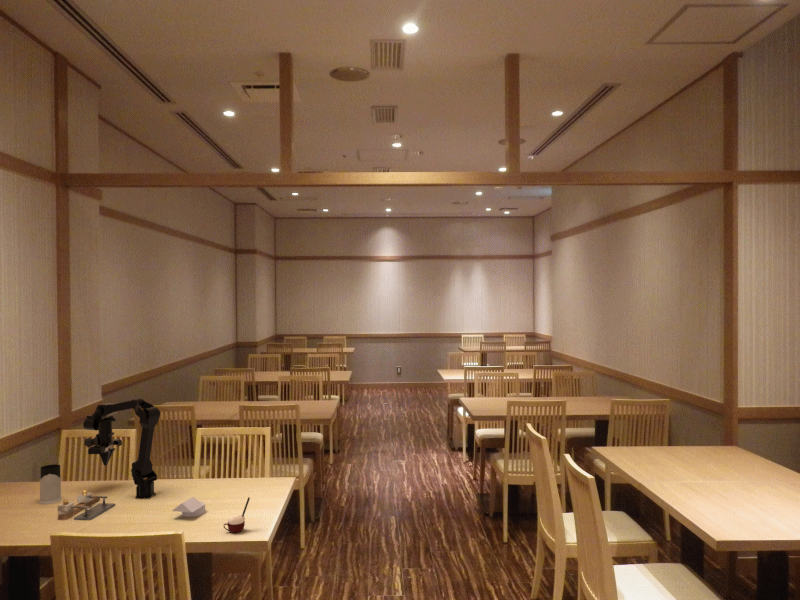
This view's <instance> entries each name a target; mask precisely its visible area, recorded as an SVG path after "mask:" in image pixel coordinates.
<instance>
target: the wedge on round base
mask: <svg viewBox="0 0 800 600" xmlns="http://www.w3.org/2000/svg"><path fill="white" fill-rule="evenodd" d="M171 512H181V515H182V516H183V517H185V516H186V517H187V518H192V517H193V516H195V517H199V516H202V515H204V514H205V513H206V503H205V502H204V501H201V500H198V499H197V498H196V497H195V496H192V497H190V498H188V499H187V500H185V501H183V502H181V503H180V504H179V505H178V506H176V507H175V508H174V509H172V510H171ZM198 515H199V516H198ZM186 517H185V518H186ZM193 518H194V517H193Z"/></svg>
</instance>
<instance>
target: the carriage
mask: <svg viewBox="0 0 800 600" xmlns="http://www.w3.org/2000/svg"><path fill="white" fill-rule="evenodd" d="M81 491H82V493H80V494H77V495H76V503H77V504H79V503H88V502H89V501H91V500H92V498H100V499H102V503H103V505H105V503H106V499H108V496H107V495H105V496H104V495H102V496H101V495H93V492H88V490H87V489H83V490H81Z"/></svg>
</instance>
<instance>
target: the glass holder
mask: <svg viewBox="0 0 800 600" xmlns="http://www.w3.org/2000/svg"><path fill="white" fill-rule="evenodd" d="M61 478H62V476H61V465H60V464H47V465H43V466H41V467H40V478H39V484H40V485H39V501H38V504H39V505H53V504H57V503H60V502H62V501H63V498H62V489H61V488H62V485H61V484H62V482H61V481H62V479H61Z"/></svg>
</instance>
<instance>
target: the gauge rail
mask: <svg viewBox="0 0 800 600" xmlns="http://www.w3.org/2000/svg"><path fill="white" fill-rule="evenodd" d="M99 501H101V498H92V500H91V501H89V502H88V503H77V504H75V502H69V499H62V503H60V504H58V505H57V520H59V521H60V520H61V521H62V520H63V521H65V520H68V519H70V518H71V517H73V516H75V515H76V514H79V513H80V512H82V511H84V512H85V516H87V510H88V509H90V507H91V506H93V505H94V504H97V503H98V502H99Z"/></svg>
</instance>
